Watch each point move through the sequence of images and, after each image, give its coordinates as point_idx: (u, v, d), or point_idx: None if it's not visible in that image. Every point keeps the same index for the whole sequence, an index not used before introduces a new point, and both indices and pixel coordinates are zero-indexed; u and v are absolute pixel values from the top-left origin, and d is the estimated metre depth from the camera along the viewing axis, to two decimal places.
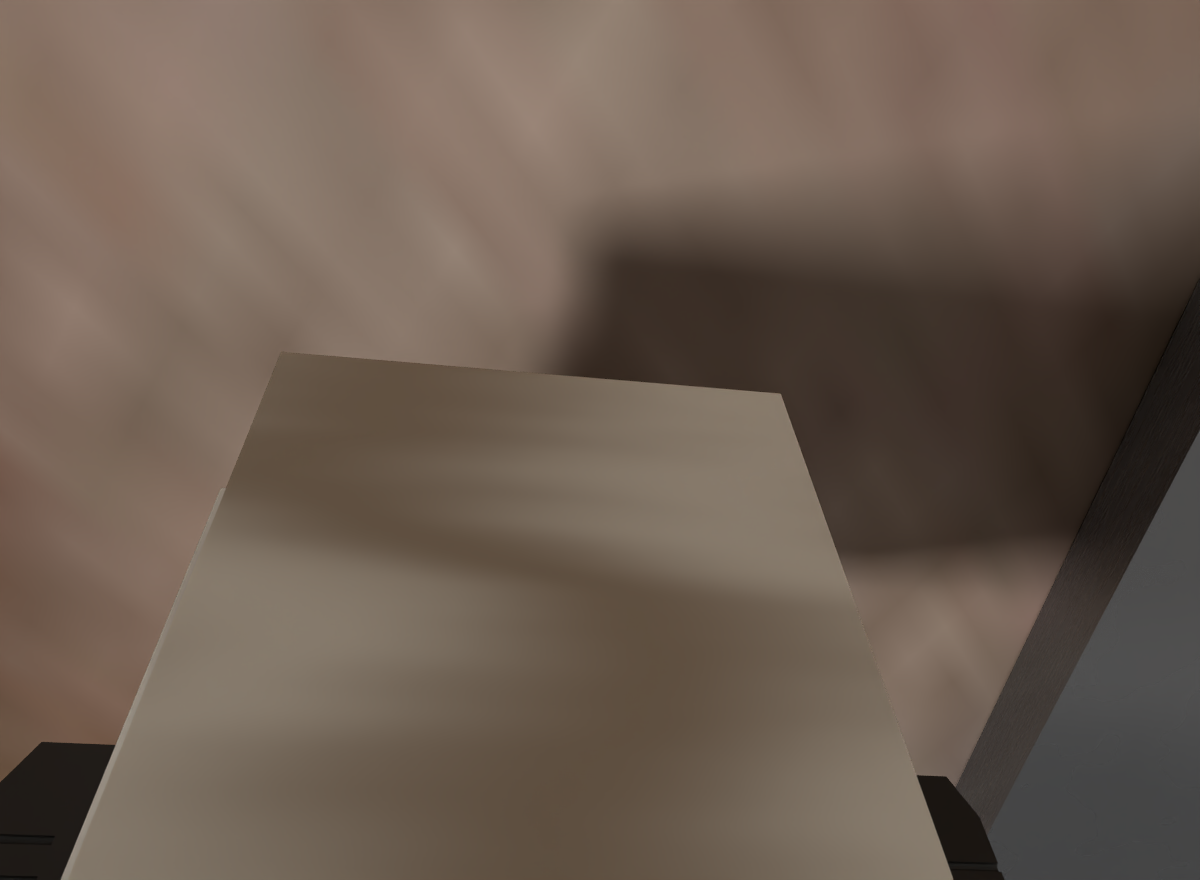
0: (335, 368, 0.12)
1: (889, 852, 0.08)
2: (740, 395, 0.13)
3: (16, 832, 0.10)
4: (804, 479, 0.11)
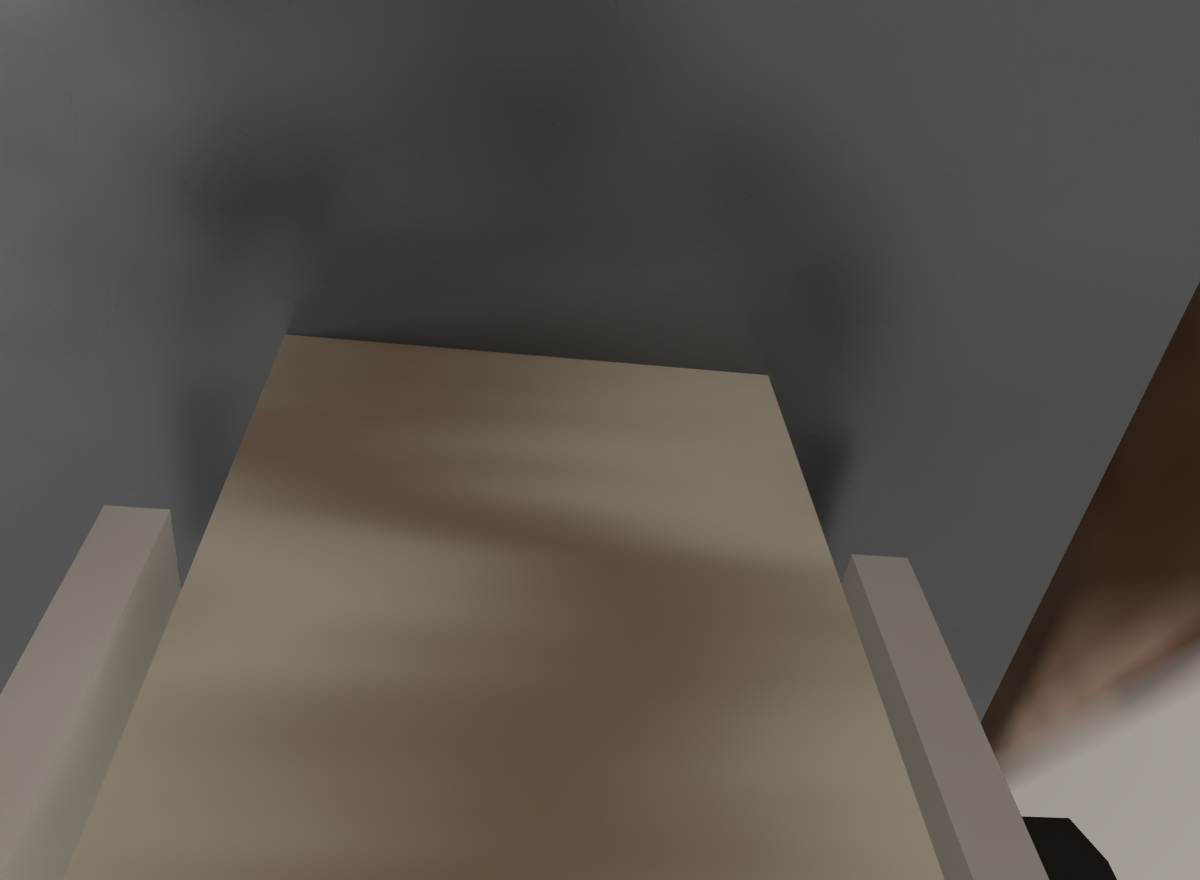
0: (337, 348, 0.12)
1: (864, 796, 0.08)
2: (728, 377, 0.13)
3: None
4: (789, 455, 0.12)
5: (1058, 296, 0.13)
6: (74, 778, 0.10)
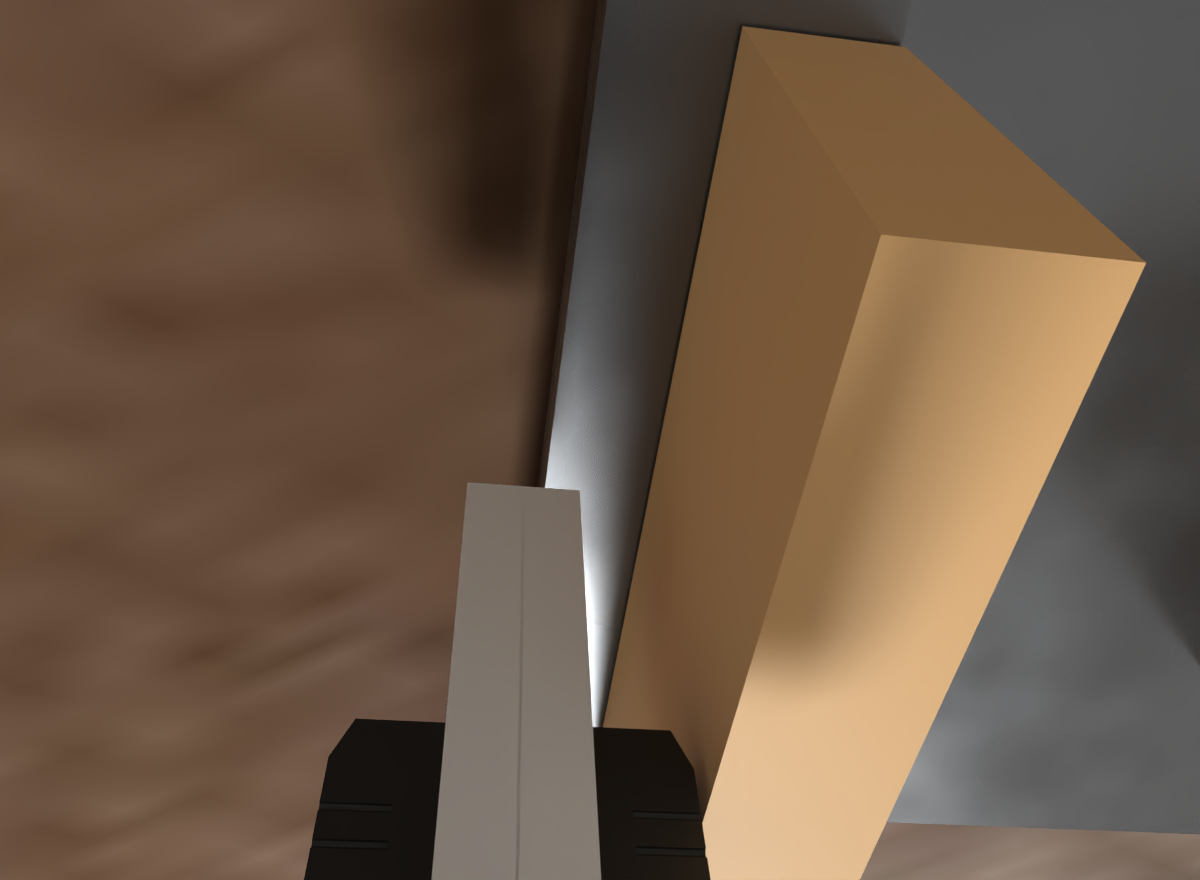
0: None
1: None
2: None
3: (356, 800, 0.10)
4: None
5: None
6: None
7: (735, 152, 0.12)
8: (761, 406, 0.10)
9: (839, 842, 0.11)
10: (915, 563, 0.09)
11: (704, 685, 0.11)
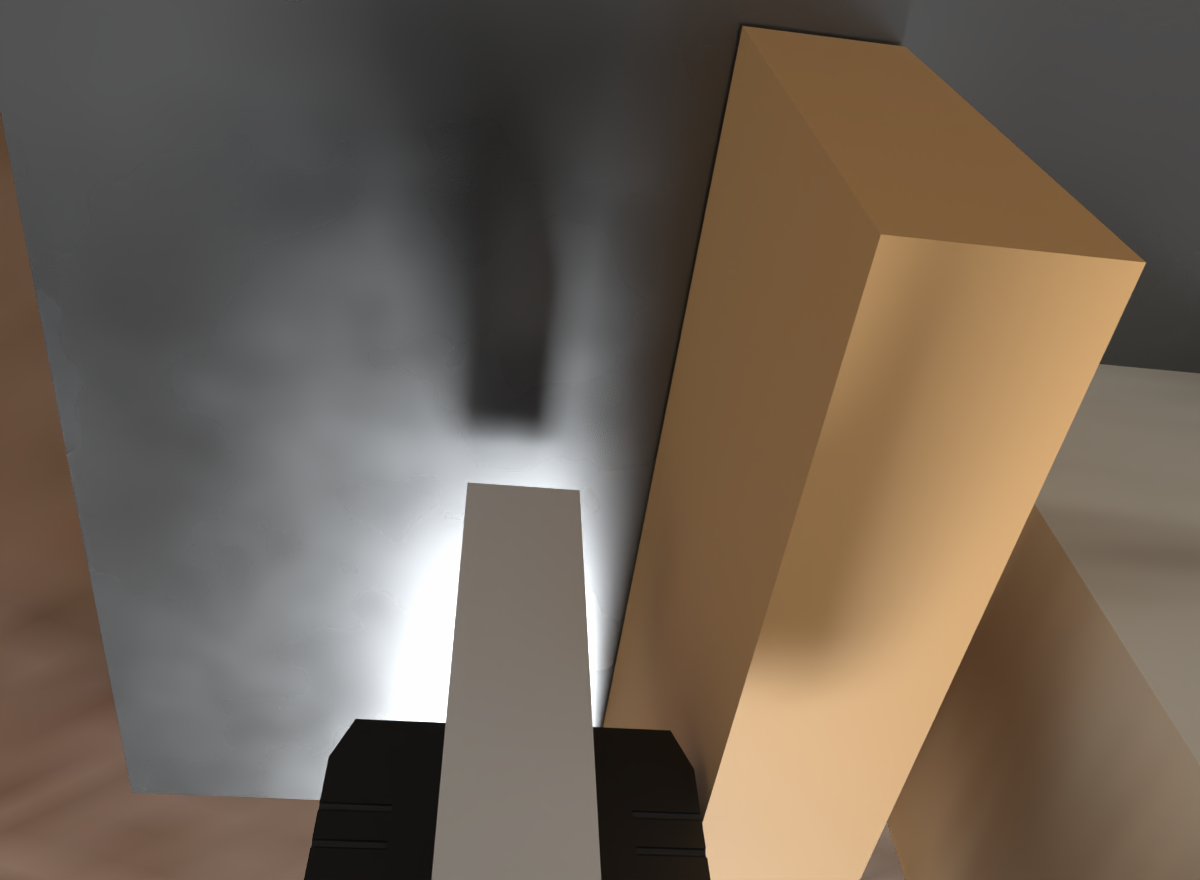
0: None
1: (1129, 713, 0.10)
2: None
3: (356, 800, 0.10)
4: None
5: None
6: None
7: (735, 152, 0.12)
8: (761, 406, 0.10)
9: (840, 842, 0.11)
10: (915, 563, 0.09)
11: (704, 685, 0.11)
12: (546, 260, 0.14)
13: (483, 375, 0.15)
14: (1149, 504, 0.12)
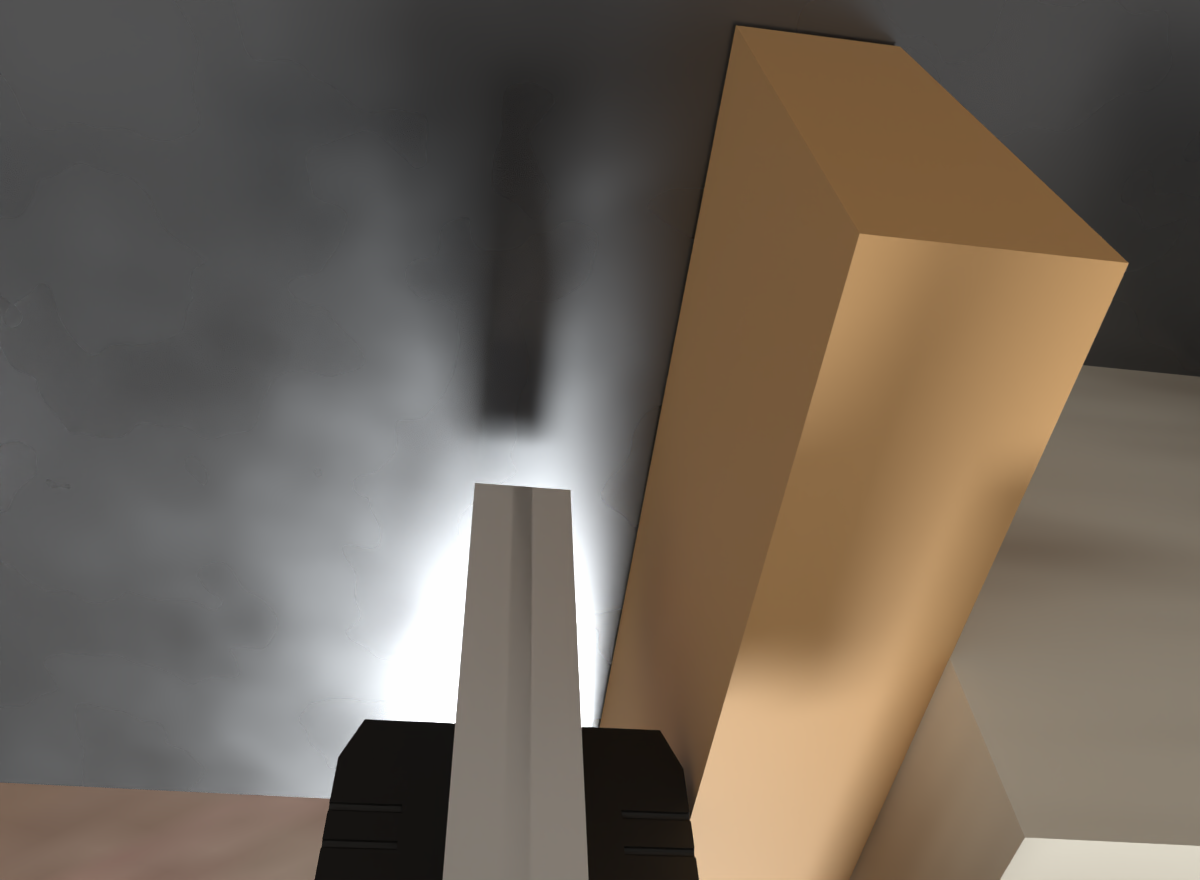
0: None
1: (942, 707, 0.10)
2: None
3: (366, 801, 0.10)
4: None
5: (425, 46, 0.12)
6: None
7: (727, 151, 0.12)
8: (747, 406, 0.10)
9: (827, 845, 0.11)
10: (899, 565, 0.09)
11: (692, 686, 0.11)
12: (83, 212, 0.13)
13: (49, 335, 0.14)
14: None
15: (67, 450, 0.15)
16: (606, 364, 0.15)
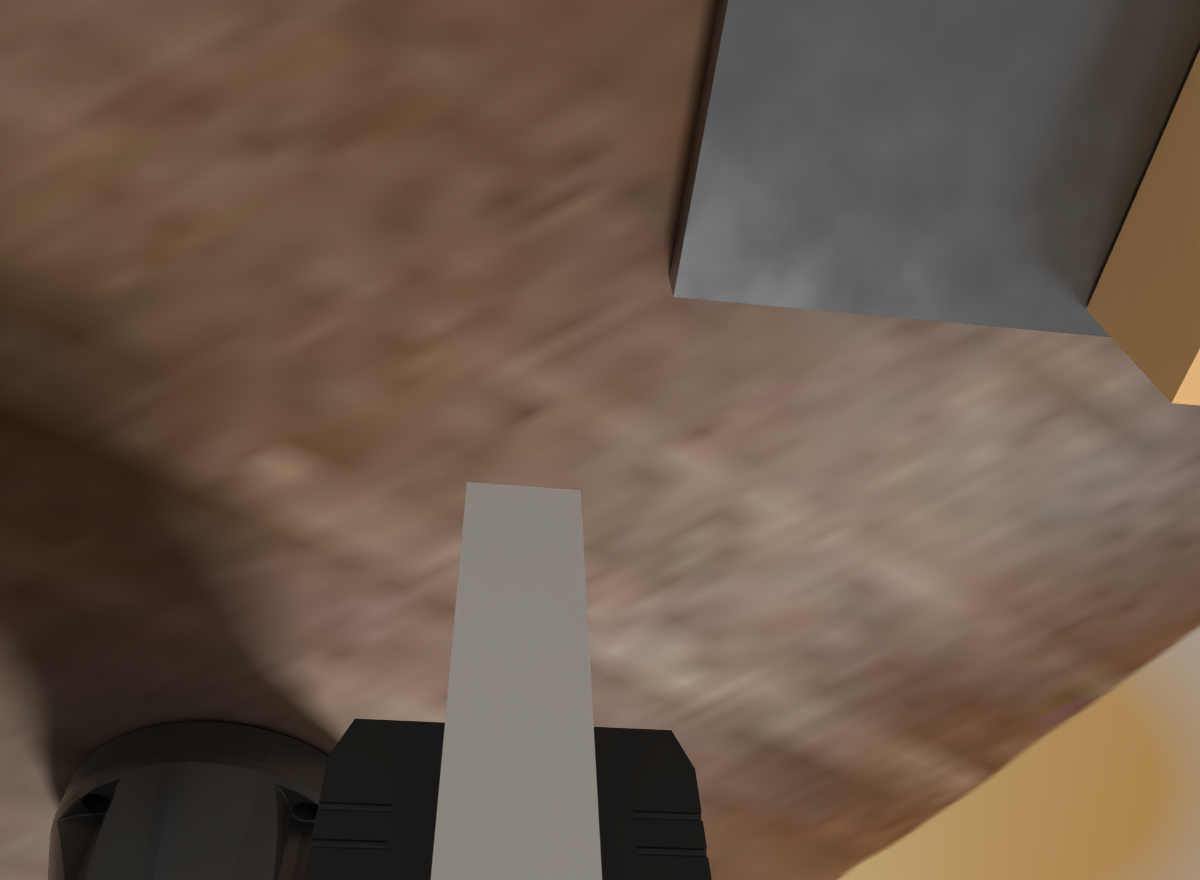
0: None
1: None
2: None
3: (356, 801, 0.10)
4: None
5: None
6: None
7: None
8: None
9: None
10: None
11: None
12: None
13: (928, 14, 0.31)
14: None
15: (907, 81, 0.32)
16: (1176, 32, 0.31)
